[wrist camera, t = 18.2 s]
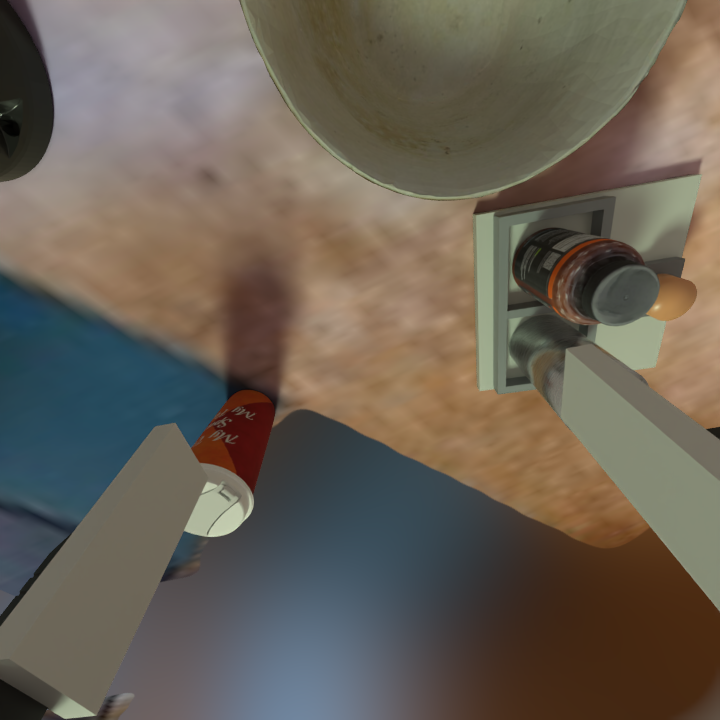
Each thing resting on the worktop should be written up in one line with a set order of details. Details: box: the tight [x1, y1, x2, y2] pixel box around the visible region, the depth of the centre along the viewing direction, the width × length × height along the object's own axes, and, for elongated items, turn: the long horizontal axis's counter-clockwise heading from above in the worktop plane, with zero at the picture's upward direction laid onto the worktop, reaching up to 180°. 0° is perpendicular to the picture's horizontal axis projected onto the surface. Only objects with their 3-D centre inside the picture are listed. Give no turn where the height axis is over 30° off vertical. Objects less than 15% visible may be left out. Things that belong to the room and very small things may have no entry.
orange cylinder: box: [646, 274, 697, 321], centre depth 30 cm, size 4×4×2 cm
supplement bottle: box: [512, 228, 660, 326], centre depth 27 cm, size 6×6×11 cm
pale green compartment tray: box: [473, 174, 702, 394], centre depth 33 cm, size 18×18×2 cm
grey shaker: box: [509, 315, 648, 431], centre depth 30 cm, size 6×6×11 cm
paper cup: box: [184, 390, 275, 537], centre depth 35 cm, size 8×8×14 cm
